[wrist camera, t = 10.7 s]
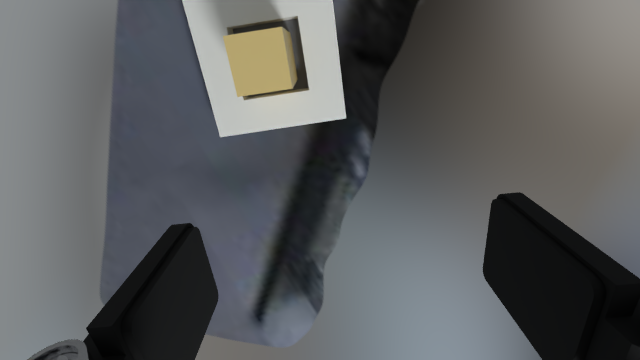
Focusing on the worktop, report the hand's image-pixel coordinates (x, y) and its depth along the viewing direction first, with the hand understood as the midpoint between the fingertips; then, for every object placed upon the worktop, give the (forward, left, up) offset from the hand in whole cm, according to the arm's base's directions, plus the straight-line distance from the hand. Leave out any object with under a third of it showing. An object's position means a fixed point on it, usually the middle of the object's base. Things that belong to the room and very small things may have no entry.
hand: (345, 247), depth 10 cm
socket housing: (+4, -6, -23) cm, 24 cm away
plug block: (+4, -6, -23) cm, 24 cm away
